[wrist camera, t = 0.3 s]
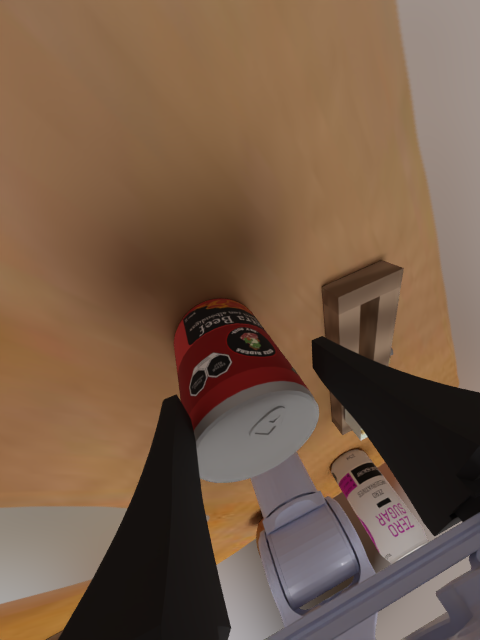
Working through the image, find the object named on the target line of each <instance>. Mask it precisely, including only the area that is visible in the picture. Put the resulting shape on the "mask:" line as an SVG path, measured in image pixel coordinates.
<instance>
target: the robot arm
mask: <svg viewBox="0 0 480 640" xmlns="http://www.w3.org/2000/svg"><path fill="white" fill-rule="evenodd" d="M312 361H313V369H314V370H315V372H316V373H317V375H318V376H319V378H320V379H321V381H322V382H323V383H324V385H325V386H326V387H327V388H328V389H329V391H330V392H331V393H332V394H333V395H334V396H335V398H336V399H337V400H338V401H339V402H340V403H341V404H342V406H343V407H344V408H345V409H346V410H347V411H348V412H349V414H350V415H351V416H352V417H353V418H354V419H355V421H356V422H357V423H358V424H359V426H360V427H361V428H362V430H363V431H364V432H365V434H366V435H367V437H368V438H369V439H370V441H371V442H372V443H373V445H374V446H375V448H376V449H377V451H378V452H379V454H380V455H381V456H382V458H383V459H384V461H385V462H386V464H387V465H388V467H389V468H390V470H391V471H392V473H393V474H394V476H395V477H396V479H397V480H398V482H399V484H400V485H401V487H402V488H403V490H404V491H405V493H406V494H407V496H408V498H409V499H410V501H411V503H412V504H413V506H414V508H415V509H416V511H417V512H418V514H419V516H420V517H421V519H422V521H423V523H424V524H425V525H426V526H427V528H428V529H429V530H430V531H431V533H432V534H433V535H434V536H436V535H438V534H440V533H441V532H443V531H445V530H447V529H448V528H450V527H452V526H453V525H455V524H457V523H459V522H460V521H462V523H461V524H459V525H457V526H456V527H454V528H452V529H450V530H449V531H447V532H445V533H444V534H442V535H440V536H439V537H437V538H435V539H434V540H432V541H430V542H428V543H427V544H425V545H423V546H422V547H420V548H418V549H417V550H415V551H413V552H412V553H410V554H408V555H406V556H405V557H403V558H401V559H400V560H398V561H396V562H395V563H393V564H391V565H390V566H388V567H386V568H384V569H383V570H381V571H379V572H378V573H375V571H374V569H373V567H372V566H371V564H370V562H369V560H368V558H367V556H366V553H365V550H364V547H363V545H362V543H361V541H360V539H359V537H358V535H357V533H356V531H355V529H354V527H353V525H352V524H351V522H350V520H349V519H348V517H347V515H346V514H345V512H344V510H343V509H342V508H341V506H340V505H339V504H338V502H337V501H335V500H334V499H331V498H330V497H328V496H327V497H325V498H324V497H323V495H322V493H321V491H317V490H316V488H315V486H314V484H313V482H312V480H311V478H310V476H309V474H308V473H307V471H306V469H305V467H304V465H303V463H302V461H301V459H300V457H299V455H298V454H297V452H295V453H294V454H293V455H292V456H290V457H289V458H288V459H286V460H285V461H283V462H282V463H281V464H279V465H277V466H276V467H274V468H272V469H270V470H268V471H266V472H264V473H262V474H260V475H257V476H254V477H252V478H250V479H251V482H252V485H253V488H254V491H255V494H256V497H257V500H258V503H259V506H260V509H261V512H262V515H263V518H264V520H263V521H262V522H263V525H264V529H265V530H263V531H261V532H260V537H259V541H258V545H259V551H260V555H261V559H262V563H263V566H264V570H265V574H266V577H267V580H268V583H269V586H270V589H271V592H272V595H273V598H274V600H275V602H276V605H277V607H278V609H279V612H280V615H281V618H282V621H283V624H284V627H285V628H283V629H281V630H280V631H278V632H276V633H275V634H273V635H271V636H269V637H268V638H266V639H264V640H376V639H375V629H376V623H377V616H378V612H379V611H380V610H382V609H384V608H385V607H387V606H388V605H390V604H392V603H393V602H395V601H397V600H398V599H400V598H401V597H403V596H405V595H406V594H408V593H409V592H411V591H412V590H414V589H416V588H418V587H419V586H421V585H422V584H424V583H425V582H427V581H429V580H430V579H432V578H434V577H435V576H437V575H439V574H440V573H442V572H443V571H445V570H447V569H448V568H450V567H451V566H453V565H454V564H456V563H458V562H459V561H461V560H463V559H464V558H466V557H467V556H469V555H470V556H469V561H470V564H471V570H470V571H468V572H466V573H464V574H463V575H461V576H459V577H457V578H456V579H454V580H452V581H451V582H449V583H448V584H447V585H445V586H444V587H442V588H441V589H439V590H438V591H436V596H437V597H438V599H439V600H440V601H441V603H442V605H443V606H444V608H445V609H446V611H447V612H446V613H445V614H443V615H441V616H439V617H438V618H436V619H435V620H433V621H431V622H430V623H428V624H426V625H425V626H423V627H421V628H420V629H418V630H416V631H415V632H413V633H411V634H410V635H408V636H406V637H405V638H403V639H401V640H480V393H479V392H474V391H470V390H465V389H460V388H457V387H453V386H449V385H445V384H441V383H437V382H434V381H430V380H427V379H423V378H420V377H417V376H414V375H411V374H408V373H405V372H402V371H399V370H396V369H394V368H391V367H388V366H386V365H383V364H381V363H378V362H376V361H374V360H371V359H369V358H367V357H364V356H362V355H360V354H358V353H356V352H354V351H351V350H349V349H347V348H345V347H343V346H341V345H339V344H337V343H335V342H333V341H331V340H329V339H327V338H325V337H323V336H321V337H319V338H316V339H314V340H312ZM352 576H354V578H353V581H352V583H351V584H350V585H349V586H348V587H346V588H344V589H343V590H341V591H339V592H338V593H336V594H334V595H333V596H331V597H329V598H328V599H326V600H324V601H322V602H321V603H319V604H317V605H316V606H314V607H313V608H311V609H307V610H302V609H300V608H299V607H301V606H303V605H304V604H306V603H308V602H309V601H311V600H313V599H315V598H316V597H318V596H320V595H321V594H323V593H325V592H326V591H328V590H330V589H332V588H333V587H335V586H337V585H338V584H340V583H342V582H343V581H345V580H347V579H349V578H350V577H352ZM230 629H231V626H230V622H229V618H228V614H227V609H226V605H225V601H224V597H223V593H222V589H221V584H220V580H219V576H218V571H217V567H216V562H215V558H214V553H213V549H212V544H211V539H210V534H209V530H208V525H207V520H206V515H205V510H204V505H203V499H202V492H201V484H200V474H199V465H198V456H197V447H196V439H195V435H194V430H193V426H192V421H191V418H190V416H189V415H188V413H187V411H186V409H185V408H184V406H183V404H182V403H181V401H180V399H179V398H178V396H177V395H174V396H172V397H169V398H167V399H164V401H163V403H162V408H161V412H160V416H159V420H158V424H157V428H156V432H155V435H154V438H153V442H152V445H151V448H150V452H149V455H148V457H147V460H146V463H145V466H144V469H143V472H142V475H141V477H140V480H139V483H138V485H137V488H136V490H135V493H134V495H133V497H132V500H131V502H130V504H129V507H128V509H127V511H126V513H125V516H124V518H123V520H122V522H121V524H120V526H119V528H118V531H117V533H116V535H115V537H114V539H113V541H112V543H111V545H110V547H109V549H108V550H107V553H106V555H105V556H104V558H103V560H102V562H101V564H100V566H99V568H98V570H97V572H96V573H95V576H94V577H93V579H92V581H91V583H90V585H89V586H88V588H87V590H86V592H85V593H84V595H83V597H82V599H81V600H80V602H79V604H78V606H77V607H76V609H75V611H74V612H73V614H72V616H71V618H70V619H69V621H68V623H67V625H66V626H65V628H64V630H63V631H62V633H61V635H60V637H59V638H58V640H228V637H229V633H230Z"/></svg>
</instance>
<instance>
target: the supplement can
mask: <svg viewBox="0 0 480 640" xmlns="http://www.w3.org/2000/svg"><path fill="white" fill-rule="evenodd" d="M331 473H332V475H333V477H334V478H335V480H336V482H337V483H338V485H339V487H340V488H341V490H342V492H343V493H344V495H345V496H346V498H347V500H348V502H349V503H350V505H351V506H352V508H353V510H354V511H355V513H356V515H357V516H358V518H359V520H360V521H361V523H362V525H363V526H364V528H365V530H366V531H367V533H368V534H369V536H370V538H371V539H372V541H373V543H374V544H375V546H376V548H377V549H378V551H379V553H380V554H381V555H382V556H383V557H384V558H385V559H386V560H388V561H389V562H390V563H391V564H393V563H395V562H396V561H398V560H400V559H401V558H403V557H405V556H406V555H408V554H410V553H412V552H413V551H415V550H417V549H418V548H420V547H422V546H423V545H425V544H427V543H428V542H429V541H428V540H427V537H426V534H425V531H424V528H423V527H422V525H421V524H420V523H419V521H418V520H417V519H416V518H415V516H414V515H413V514H412V512H411V511H410V510H409V509H408V507H407V506H406V505H405V503H404V502H403V501H402V500H401V498H400V497H399V496H398V494H397V493H396V492H395V490H394V489H393V488H392V487H391V485H390V484H389V483H388V481H387V480H386V479H385V478H384V476H383V475H382V474H381V472H380V471H379V470H378V468H377V467H376V466H375V465H374V463H373V462H372V461H371V459H370V458H369V457H368V456H367V454H366V453H365V452H364V451H360V450H358V449H355V450H351V451H348V452H346V453H344V454H343V455H341V456H340V457H339V458H338V459H336V460H335V462H334V463H333V464H332V470H331Z"/></svg>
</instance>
